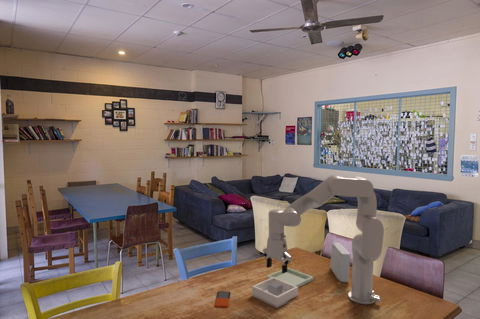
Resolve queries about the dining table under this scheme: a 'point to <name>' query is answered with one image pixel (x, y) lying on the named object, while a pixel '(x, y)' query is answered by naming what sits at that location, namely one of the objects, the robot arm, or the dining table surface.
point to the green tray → (292, 277)
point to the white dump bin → (262, 294)
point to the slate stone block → (275, 288)
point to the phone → (222, 299)
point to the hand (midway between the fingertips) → (276, 269)
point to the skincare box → (340, 262)
